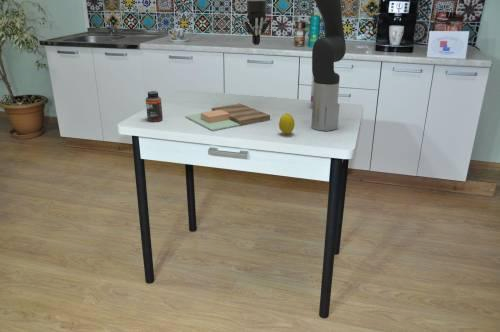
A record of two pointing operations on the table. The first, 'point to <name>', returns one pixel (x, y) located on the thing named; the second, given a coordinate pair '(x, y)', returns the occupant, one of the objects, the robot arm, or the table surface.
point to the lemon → (286, 123)
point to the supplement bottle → (154, 107)
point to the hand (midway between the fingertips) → (256, 44)
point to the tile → (215, 116)
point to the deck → (243, 114)
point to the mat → (212, 126)
